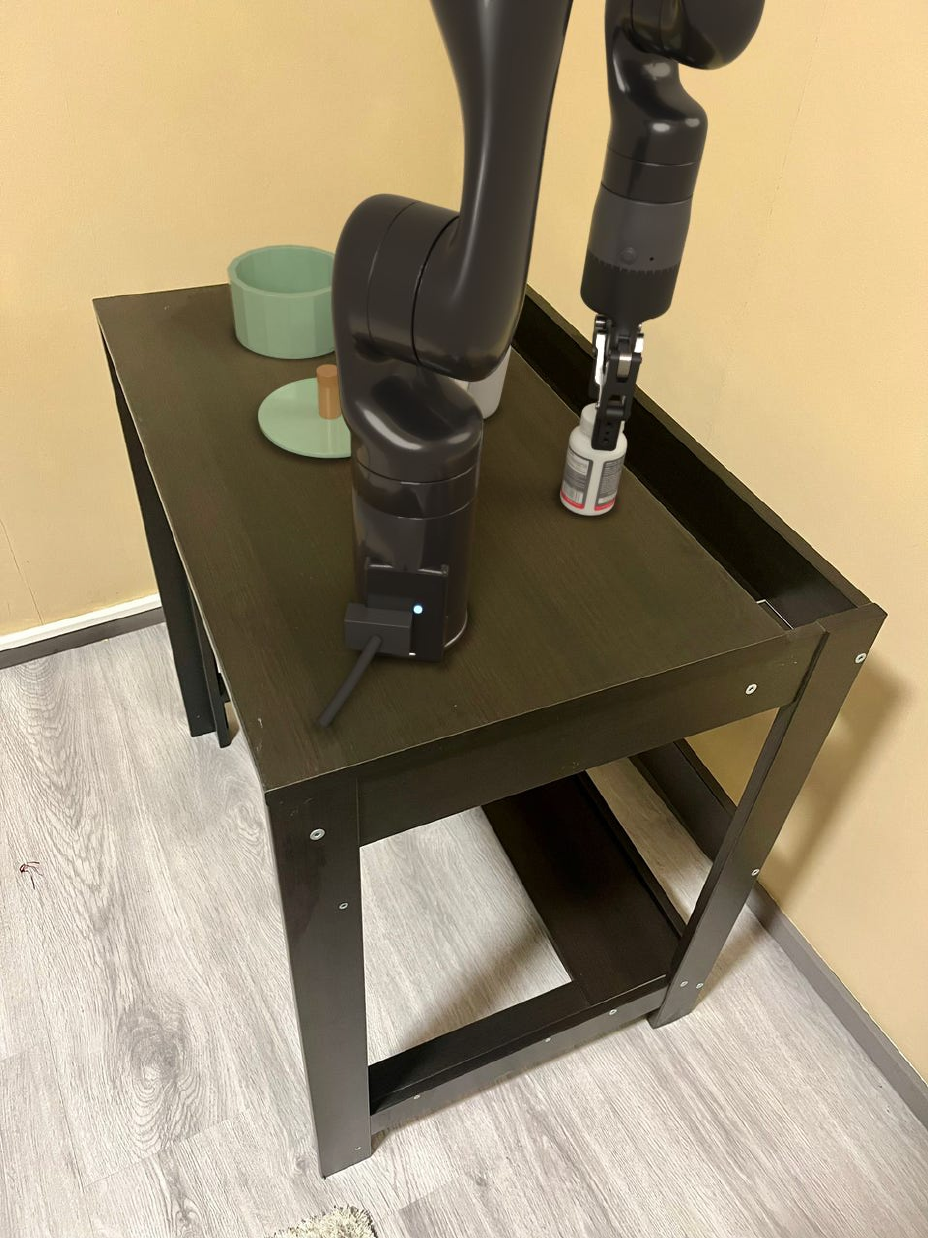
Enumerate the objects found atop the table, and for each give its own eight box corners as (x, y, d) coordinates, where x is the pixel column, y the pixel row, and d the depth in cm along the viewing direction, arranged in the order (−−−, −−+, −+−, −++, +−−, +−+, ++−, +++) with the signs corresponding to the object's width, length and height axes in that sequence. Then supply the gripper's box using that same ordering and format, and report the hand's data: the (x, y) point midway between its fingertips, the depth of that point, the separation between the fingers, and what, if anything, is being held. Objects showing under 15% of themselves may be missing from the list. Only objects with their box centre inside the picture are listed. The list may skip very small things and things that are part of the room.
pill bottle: (609, 485, 91) (628, 399, 84) (617, 518, 87) (638, 431, 80) (556, 483, 90) (570, 396, 83) (562, 516, 86) (578, 429, 80)
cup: (492, 449, 94) (499, 380, 88) (417, 436, 95) (420, 367, 89) (509, 396, 101) (517, 330, 96) (440, 385, 102) (443, 318, 97)
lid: (390, 470, 90) (391, 417, 86) (242, 454, 90) (236, 401, 86) (409, 393, 101) (410, 342, 96) (277, 379, 101) (272, 328, 96)
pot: (340, 364, 104) (338, 302, 99) (221, 352, 104) (213, 289, 99) (359, 310, 114) (358, 250, 108) (251, 299, 114) (245, 239, 109)
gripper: (692, 290, 66) (647, 471, 78) (674, 214, 76) (636, 384, 88) (590, 281, 66) (560, 463, 78) (586, 206, 76) (559, 377, 88)
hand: (600, 421), depth 83 cm, fingers open, 8 cm apart
